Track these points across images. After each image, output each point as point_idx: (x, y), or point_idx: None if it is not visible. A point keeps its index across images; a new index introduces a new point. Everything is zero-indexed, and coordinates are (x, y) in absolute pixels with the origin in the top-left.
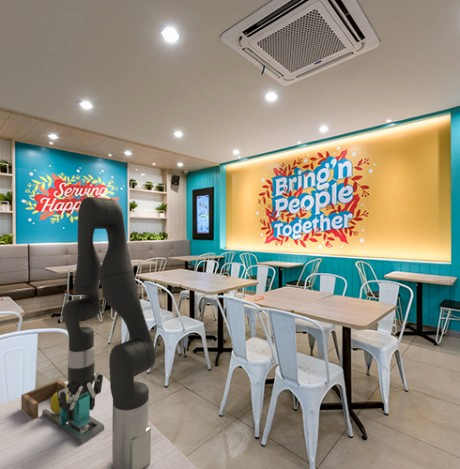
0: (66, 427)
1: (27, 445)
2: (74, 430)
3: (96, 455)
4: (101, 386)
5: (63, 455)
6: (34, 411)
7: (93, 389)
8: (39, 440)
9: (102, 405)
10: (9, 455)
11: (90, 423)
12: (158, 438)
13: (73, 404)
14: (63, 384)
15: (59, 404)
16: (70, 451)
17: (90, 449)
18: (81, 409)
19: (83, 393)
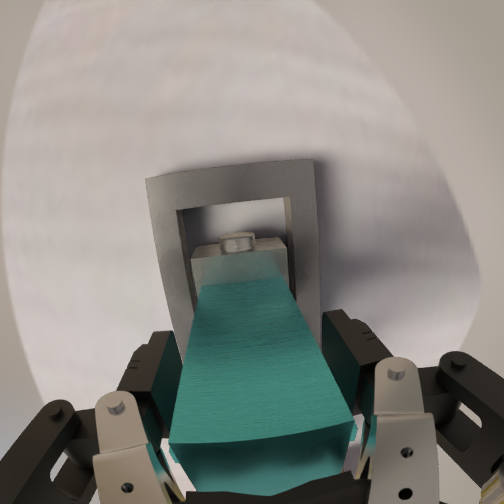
0: (316, 332)
1: (425, 339)
2: (302, 275)
3: (285, 30)
4: (17, 441)
5: (390, 160)
6: (341, 471)
7: (96, 479)
8: (395, 341)
9: (96, 376)
10: (464, 324)
11: (208, 253)
12: None
13: (389, 394)
14: None
15: (468, 422)
16: (361, 157)
17: (287, 84)
18: (283, 337)
19: (260, 495)
